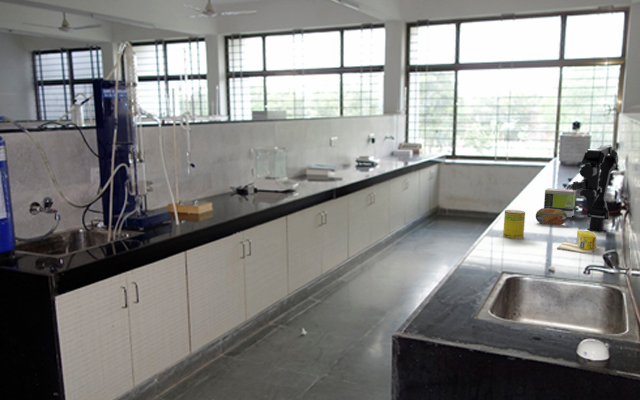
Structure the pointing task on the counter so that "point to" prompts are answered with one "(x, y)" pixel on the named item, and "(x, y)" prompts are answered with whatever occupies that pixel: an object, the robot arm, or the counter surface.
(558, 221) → the tin
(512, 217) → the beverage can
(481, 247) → the counter surface
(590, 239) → the supplement box
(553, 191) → the tea box
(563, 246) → the birch board
